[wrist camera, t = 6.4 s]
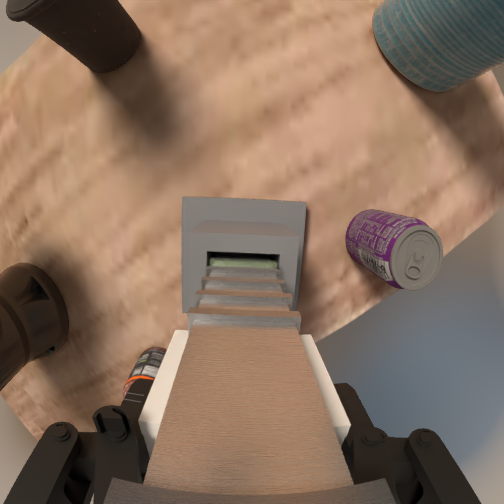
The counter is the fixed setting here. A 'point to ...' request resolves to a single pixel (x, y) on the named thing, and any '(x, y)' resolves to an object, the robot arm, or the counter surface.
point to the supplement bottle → (146, 366)
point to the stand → (241, 238)
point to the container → (83, 28)
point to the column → (246, 406)
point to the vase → (441, 39)
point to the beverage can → (395, 248)
